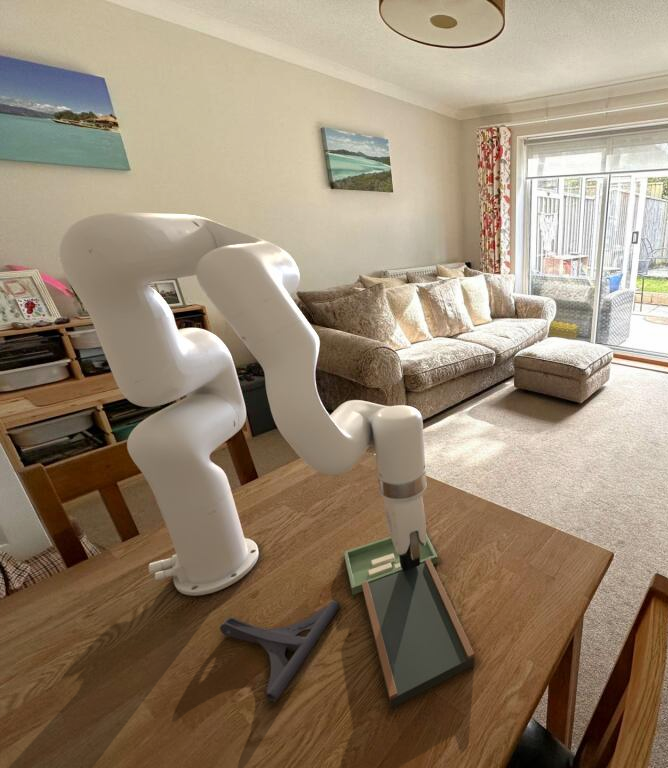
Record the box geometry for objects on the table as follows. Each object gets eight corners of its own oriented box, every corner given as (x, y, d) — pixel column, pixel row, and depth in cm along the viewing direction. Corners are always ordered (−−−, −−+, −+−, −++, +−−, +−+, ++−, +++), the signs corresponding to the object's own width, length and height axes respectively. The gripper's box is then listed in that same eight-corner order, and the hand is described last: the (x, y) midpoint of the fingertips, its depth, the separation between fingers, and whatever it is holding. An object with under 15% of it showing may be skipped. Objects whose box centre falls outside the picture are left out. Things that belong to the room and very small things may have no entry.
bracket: (261, 592, 69) (257, 580, 68) (340, 608, 66) (338, 596, 65) (182, 680, 56) (176, 667, 55) (278, 703, 53) (273, 690, 52)
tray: (352, 595, 69) (351, 588, 68) (344, 558, 76) (343, 551, 76) (437, 562, 76) (437, 556, 75) (422, 531, 83) (422, 525, 83)
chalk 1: (371, 560, 74) (371, 564, 74) (372, 564, 73) (372, 569, 73) (393, 553, 76) (393, 557, 76) (394, 557, 75) (395, 561, 75)
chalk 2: (367, 570, 72) (368, 574, 72) (369, 575, 71) (369, 579, 71) (390, 562, 74) (391, 566, 74) (392, 566, 73) (392, 570, 73)
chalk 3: (395, 568, 72) (394, 564, 73) (396, 573, 73) (394, 569, 73) (417, 560, 74) (415, 556, 75) (417, 565, 74) (416, 561, 75)
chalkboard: (391, 708, 53) (389, 697, 52) (363, 593, 69) (361, 583, 68) (474, 665, 58) (474, 653, 58) (430, 567, 75) (429, 557, 74)
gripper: (370, 462, 70) (380, 544, 77) (390, 514, 58) (399, 606, 65) (412, 452, 73) (418, 532, 80) (440, 499, 61) (444, 588, 68)
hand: (410, 565), depth 72 cm, fingers closed
